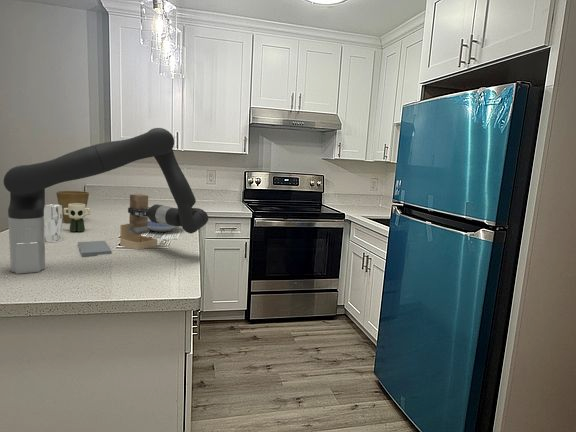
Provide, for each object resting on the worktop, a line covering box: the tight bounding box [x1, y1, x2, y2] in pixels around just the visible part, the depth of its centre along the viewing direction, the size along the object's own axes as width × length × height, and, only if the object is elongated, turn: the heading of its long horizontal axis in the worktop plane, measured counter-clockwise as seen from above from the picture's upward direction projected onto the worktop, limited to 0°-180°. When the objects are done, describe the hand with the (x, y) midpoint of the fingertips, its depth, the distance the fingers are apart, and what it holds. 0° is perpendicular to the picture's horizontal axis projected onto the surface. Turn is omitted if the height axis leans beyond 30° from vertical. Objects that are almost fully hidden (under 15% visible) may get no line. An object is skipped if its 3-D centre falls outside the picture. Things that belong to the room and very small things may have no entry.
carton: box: [119, 223, 158, 251], centre depth 156 cm, size 13×16×9 cm
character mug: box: [64, 203, 91, 232], centre depth 176 cm, size 11×7×13 cm, turn 115°
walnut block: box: [128, 193, 149, 235], centre depth 156 cm, size 5×5×16 cm
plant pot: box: [55, 190, 90, 224], centre depth 196 cm, size 15×15×16 cm
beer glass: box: [44, 203, 64, 243], centre depth 157 cm, size 7×7×15 cm
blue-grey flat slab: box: [77, 240, 113, 258], centre depth 147 cm, size 18×10×2 cm, turn 33°
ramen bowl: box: [147, 218, 177, 233], centre depth 191 cm, size 25×23×8 cm
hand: (134, 209), depth 157 cm, fingers closed on walnut block, 5 cm apart
